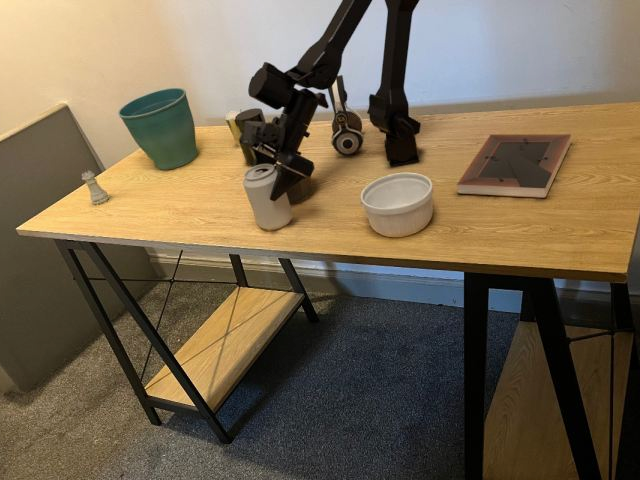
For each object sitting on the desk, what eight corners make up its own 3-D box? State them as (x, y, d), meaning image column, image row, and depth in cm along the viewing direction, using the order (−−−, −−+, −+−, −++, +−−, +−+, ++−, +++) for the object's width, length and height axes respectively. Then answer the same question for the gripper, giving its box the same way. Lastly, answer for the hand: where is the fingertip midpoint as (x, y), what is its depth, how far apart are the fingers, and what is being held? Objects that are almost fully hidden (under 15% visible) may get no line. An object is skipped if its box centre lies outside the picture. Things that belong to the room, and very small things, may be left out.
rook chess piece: (94, 207, 147) (78, 179, 142) (92, 201, 150) (76, 173, 146) (111, 200, 148) (96, 172, 143) (108, 194, 151) (94, 166, 147)
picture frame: (545, 199, 103) (570, 144, 117) (545, 187, 102) (571, 133, 116) (457, 195, 111) (491, 144, 125) (456, 183, 110) (490, 133, 124)
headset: (335, 136, 149) (315, 57, 137) (364, 129, 148) (347, 49, 136) (335, 164, 135) (313, 79, 123) (367, 157, 134) (348, 71, 122)
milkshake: (250, 146, 156) (238, 110, 151) (232, 148, 158) (219, 113, 152) (255, 138, 160) (243, 104, 154) (238, 141, 161) (225, 106, 156)
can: (299, 212, 120) (283, 159, 113) (285, 232, 115) (267, 178, 108) (268, 213, 123) (250, 162, 116) (253, 232, 118) (233, 180, 111)
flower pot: (187, 175, 150) (160, 112, 140) (133, 178, 157) (103, 118, 147) (220, 144, 163) (197, 84, 153) (168, 148, 170) (144, 91, 160)
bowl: (316, 177, 132) (310, 157, 129) (310, 201, 123) (304, 180, 120) (269, 186, 134) (262, 166, 131) (261, 210, 125) (253, 190, 122)
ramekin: (452, 218, 105) (447, 184, 101) (394, 251, 101) (387, 217, 97) (409, 196, 115) (403, 165, 111) (354, 225, 111) (346, 194, 107)
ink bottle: (270, 167, 142) (255, 121, 135) (240, 168, 146) (223, 123, 139) (286, 149, 149) (272, 104, 142) (257, 151, 152) (242, 107, 145)
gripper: (241, 93, 113) (210, 166, 116) (281, 111, 99) (245, 194, 102) (287, 117, 120) (256, 185, 123) (330, 136, 106) (295, 213, 109)
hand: (262, 193), depth 114 cm, fingers open, 9 cm apart
